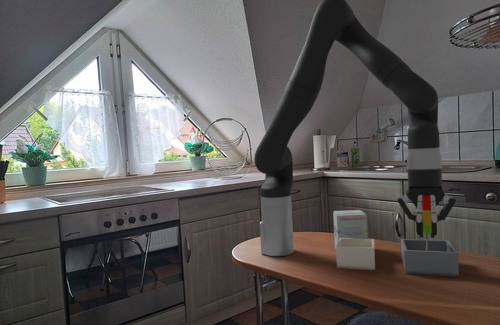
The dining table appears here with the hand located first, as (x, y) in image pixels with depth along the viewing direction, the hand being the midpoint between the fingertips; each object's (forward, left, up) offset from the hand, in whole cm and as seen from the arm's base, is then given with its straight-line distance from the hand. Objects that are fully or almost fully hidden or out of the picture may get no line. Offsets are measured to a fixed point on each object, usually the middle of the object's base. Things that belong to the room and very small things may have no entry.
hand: (426, 236), depth 88 cm
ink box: (-19, +11, -8) cm, 23 cm away
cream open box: (-17, 0, -8) cm, 19 cm away
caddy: (0, 0, -8) cm, 8 cm away
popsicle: (0, 0, -5) cm, 5 cm away
